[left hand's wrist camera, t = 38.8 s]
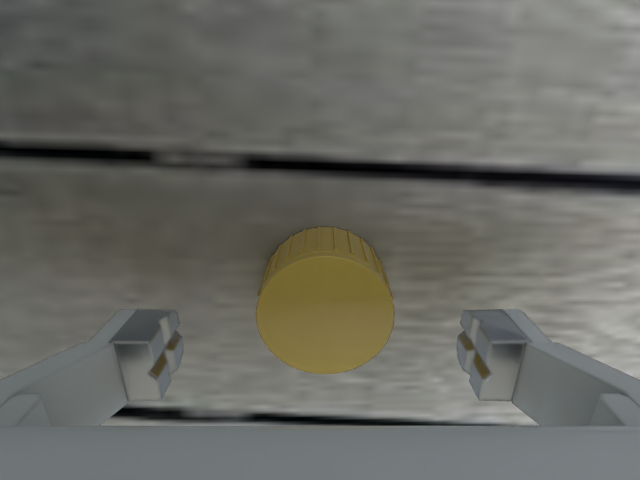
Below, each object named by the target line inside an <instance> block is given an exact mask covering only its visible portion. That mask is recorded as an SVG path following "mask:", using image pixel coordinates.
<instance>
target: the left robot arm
mask: <svg viewBox="0 0 640 480" xmlns="http://www.w3.org/2000/svg"><path fill="white" fill-rule="evenodd" d="M179 324H180V321H179V317H178V313H177V312H176V311H175V310H159V309H122V310H118V311H117V312H116V313H115V314H114V316H113V317H112V318H111V319H110V320H109V321H108V322H107V323H106V324H105V325H104V326H103V327H102V328H101V329H100V330H99V331H98V332H97V333H96V334H95V335H94V336H93V337H92V338H91V339H90V340H89V341H88V343H80V344H78V345H76V346H73V347H71V348H69V349H67V350H65V351H62V352H60V353H58V354H56V355H54V356H52V357H49V358H47V359H45V360H43V361H41V362H38V363H36V364H34V365H32V366H30V367H28V368H25V369H23V370H21V371H19V372H17V373H14V374H12V375H10V376H8V377H6V378H3V379H1V380H0V480H640V380H638V379H636V378H634V377H632V376H630V375H628V374H625V373H623V372H621V371H619V370H617V369H615V368H612V367H610V366H608V365H606V364H604V363H601V362H599V361H597V360H595V359H593V358H591V357H588V356H586V355H584V354H582V353H580V352H577V351H575V350H573V349H571V348H569V347H567V346H564V345H562V344H560V343H553V342H552V341H551V340H550V339H549V338H548V337H547V336H546V335H545V334H544V333H543V332H542V331H541V330H540V329H539V328H538V327H537V326H536V325H535V324H534V323H533V322H532V321H531V320H530V319H529V318H528V316H527V315H526V314H525V313H524V312H523V311H522V310H519V309H499V310H464V311H463V313H462V316H461V321H460V324H461V325H462V327H463V329H464V331H463V332H462V333H461V334H460V335H459V336H458V340H457V356H458V359H459V363H460V365H461V367H462V369H463V370H464V371H465V372H467V373H468V374H470V380H469V382H470V384H471V386H472V388H473V390H474V392H475V394H476V395H477V397H478V399H479V400H483V401H512V403H513V404H514V405H515V406H517V407H518V408H519V409H520V410H522V411H523V412H524V413H525V414H527V415H528V416H529V417H530V418H532V419H533V420H534V421H535V422H537V423H538V424H539V425H540V426H100V425H101V424H102V423H103V422H105V421H106V420H107V419H108V418H110V417H111V416H112V415H114V414H115V413H116V412H117V411H119V410H120V409H121V408H122V407H124V406H125V405H126V404H127V403H128V401H156V400H161V399H162V397H163V395H164V394H165V392H166V390H167V388H168V386H169V384H170V382H171V380H170V374H172V373H173V372H175V371H176V370H177V369H178V367H179V365H180V363H181V359H182V355H183V340H182V336H181V335H180V334H179V333H178V332H177V331H176V329H177V327H178V325H179Z"/></svg>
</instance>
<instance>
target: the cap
mask: <svg viewBox="0 0 640 480" xmlns="http://www.w3.org/2000/svg"><path fill="white" fill-rule="evenodd" d="M258 296H259V299H258V303H257V309H256V320H257V326H258V330H259V333H260V335H261V338H262V339H263V341H264V343H265V345H266V346H267V347H268V349H269V350H270V351H271V352H272V353H273V354H274V355H275V356H276V357H277V358H279V359H280V360H281V361H283V362H284V363H286V364H288V365H289V366H292V367H294V368H296V369H299V370H302V371H305V372H310V373H317V374H334V373H340V372H345V371H348V370H351V369H354V368H357V367H359V366H361V365H363V364H364V363H366V362H368V361H369V360H370V359H372V358H373V357H374V356H375V355H376V354H377V353H378V352H379V351H380V350H381V349H382V348H383V346H384V345H385V344H386V342H387V340H388V338H389V336H390V334H391V331H392V328H393V324H394V306H393V301H392V300H393V296H392V293H391V290H390V287H389V283H388V280H387V278H386V275H385V272H384V269H383V266H382V264H381V261H380V258H377V256H376V255H375V253H374V250H373V247H372V246H371V247H370V246H369V245H368V244H367V243H366V242H365V241H364V240H363V238H362V237H360V238H359V237H358V236H356V235H354V234H353V233H351V232H350V231H345V230H342V229H338V228H336V227H333V228H332V227H320V226H318V228H311V229H307V230H306V229H304V230H303V231H302V232H299V233H297V234H295V235H293V236H292V235H291V236H290V238H289V239H287V240H286V241H285V242H284V243H283V244H280V245H279V247H278V249H277V251H276V252H275V254H274V255H272V256H271V258H270V261H269V264H268V267H267V268H266V271H265V274H264V277H263V280H262V283H261V286H260V289H259V292H258Z"/></svg>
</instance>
